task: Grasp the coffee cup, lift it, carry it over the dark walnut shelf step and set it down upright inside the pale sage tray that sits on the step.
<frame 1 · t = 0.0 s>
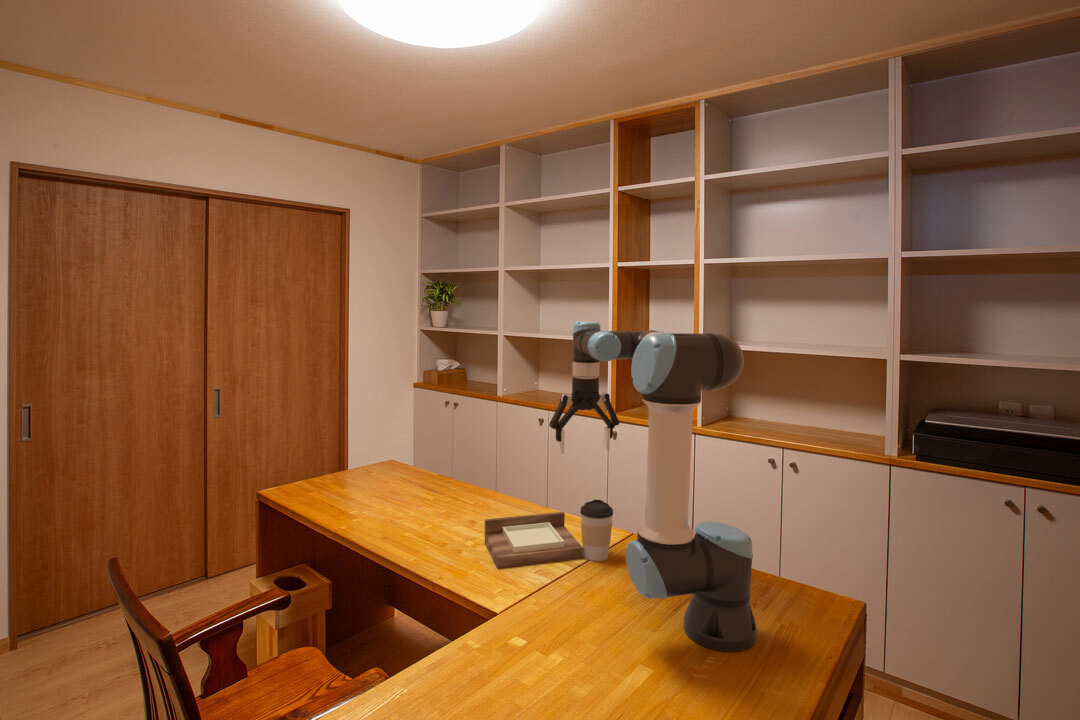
hand: (584, 451, 169), 28 cm above the table, fingers open, 13 cm apart
coffee cup: (595, 556, 166), on the table
shelf: (532, 550, 169), on the table
tray: (532, 540, 169), resting on shelf
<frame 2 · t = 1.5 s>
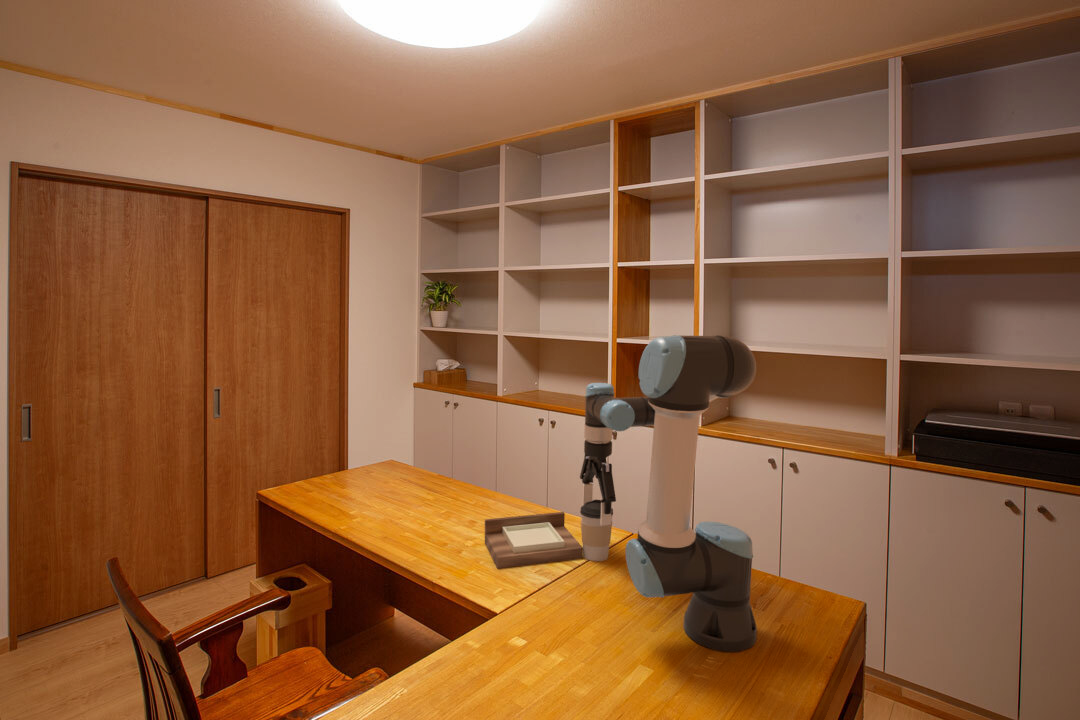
hand: (596, 515, 165), 12 cm above the table, fingers open, 13 cm apart
nothing on the table moved.
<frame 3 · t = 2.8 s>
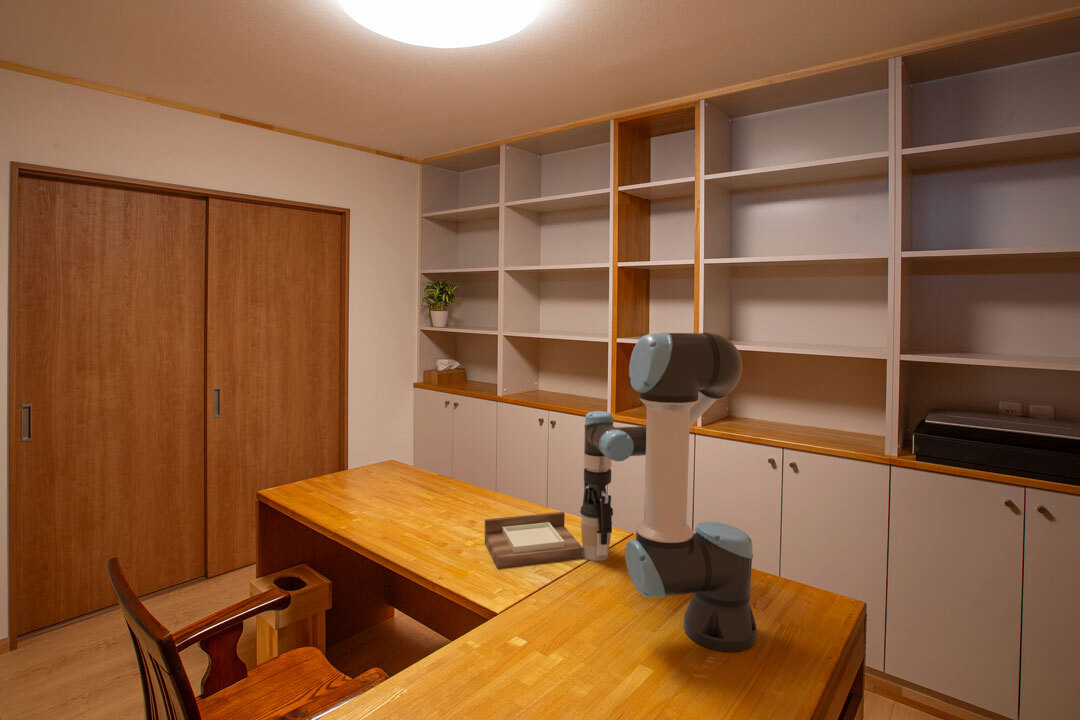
hand: (595, 547, 166), 2 cm above the table, fingers closed on coffee cup, 8 cm apart
coffee cup: (595, 556, 166), on the table, touching gripper
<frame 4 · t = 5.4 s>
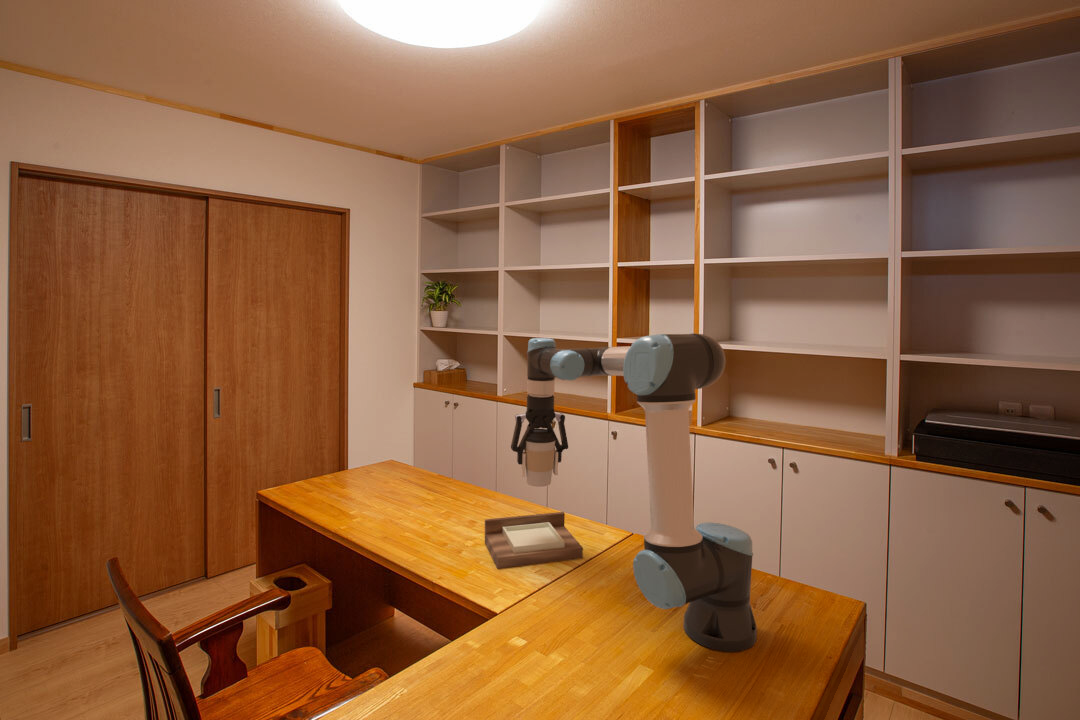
hand: (539, 474, 167), 22 cm above the table, fingers closed on coffee cup, 8 cm apart
coffee cup: (538, 483, 167), point 19 cm above the table, touching gripper
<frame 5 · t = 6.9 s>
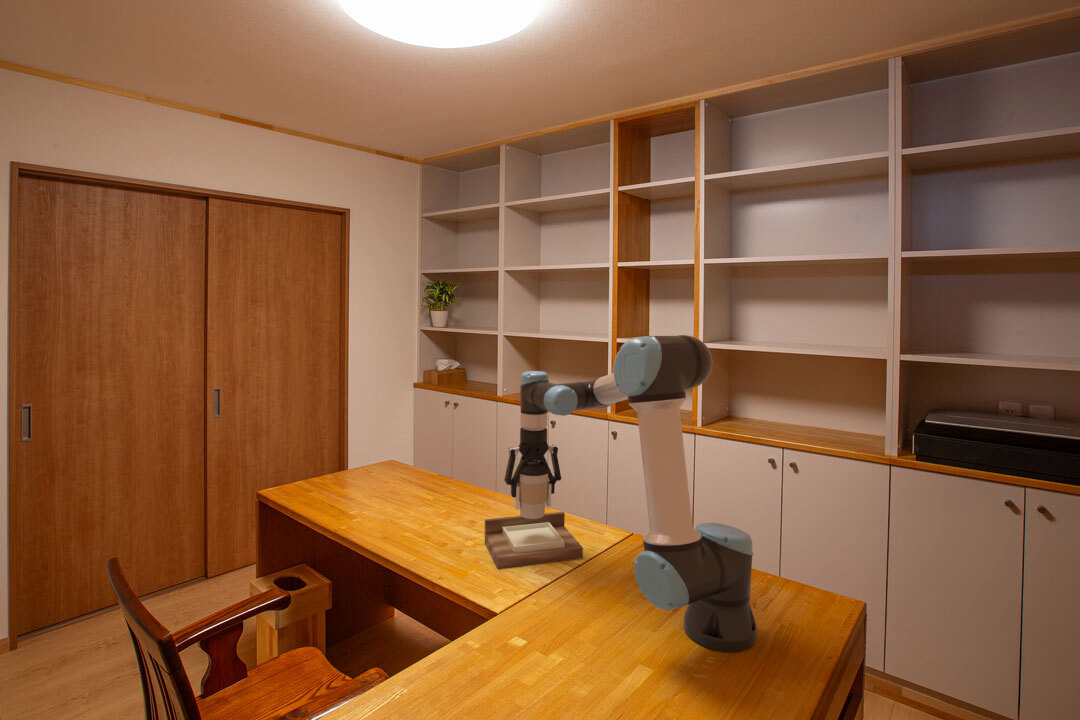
hand: (532, 506, 168), 13 cm above the table, fingers closed on coffee cup, 8 cm apart
coffee cup: (532, 514, 168), point 10 cm above the table, touching gripper
when the fingers open (7 cm above the table, at t = 8.2 s): coffee cup drops 1 cm, resting on tray.
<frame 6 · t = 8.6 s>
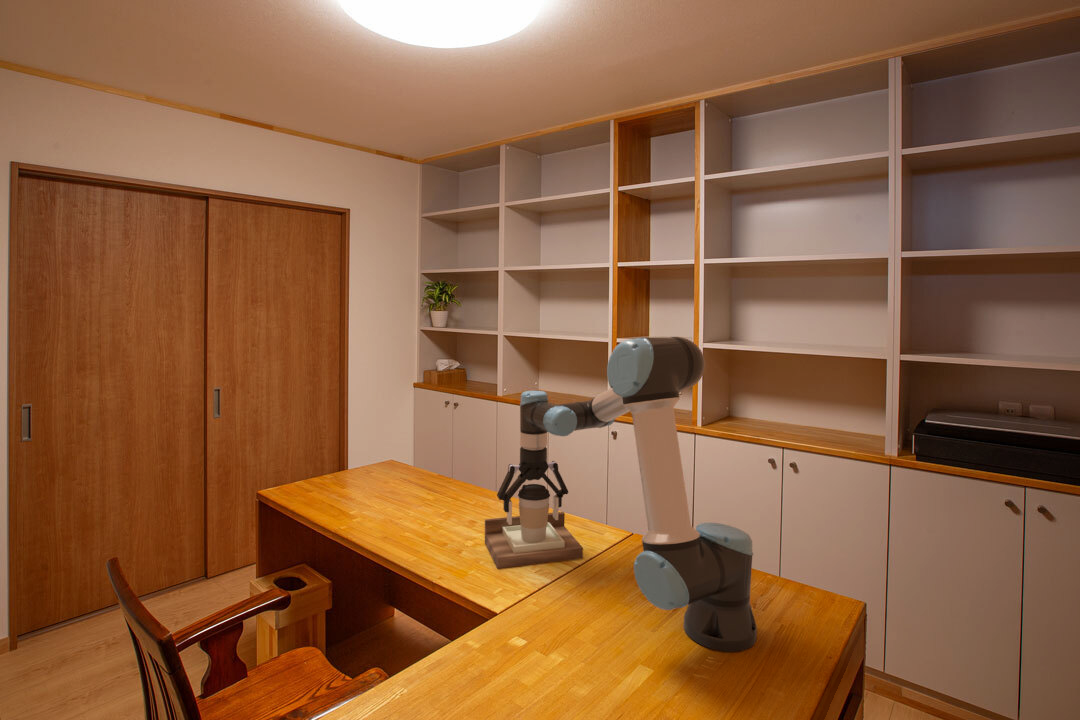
hand: (532, 520, 168), 9 cm above the table, fingers open, 13 cm apart
coffee cup: (533, 538, 169), point 3 cm above the table, touching tray
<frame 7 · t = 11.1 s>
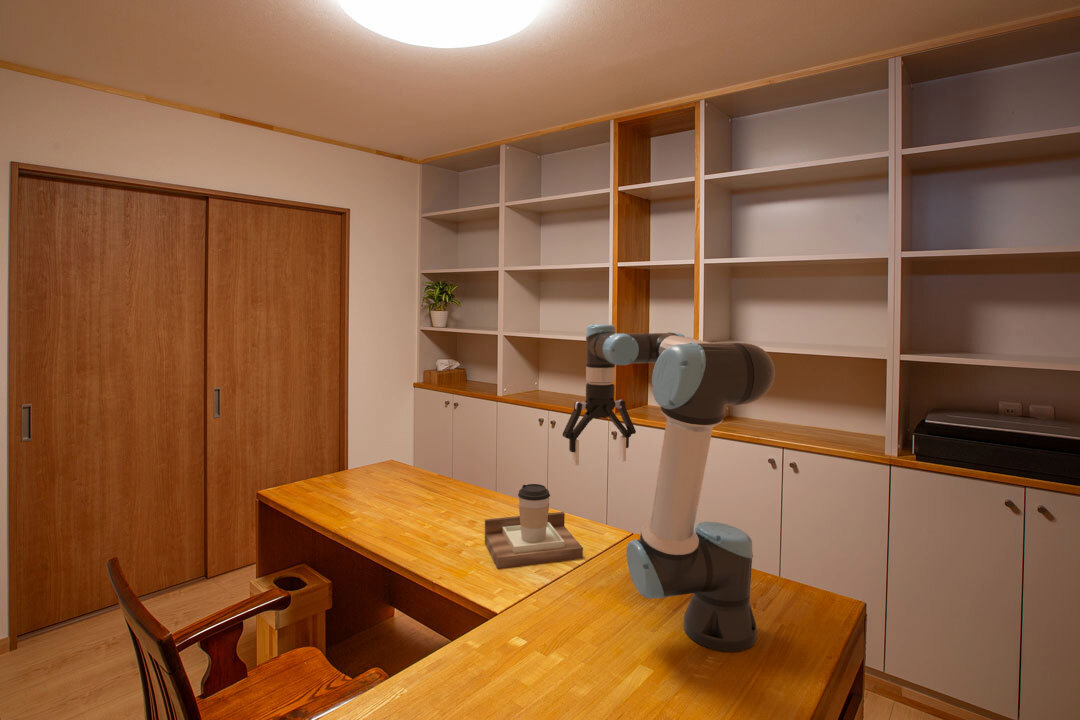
hand: (599, 462, 159), 28 cm above the table, fingers open, 13 cm apart
nothing on the table moved.
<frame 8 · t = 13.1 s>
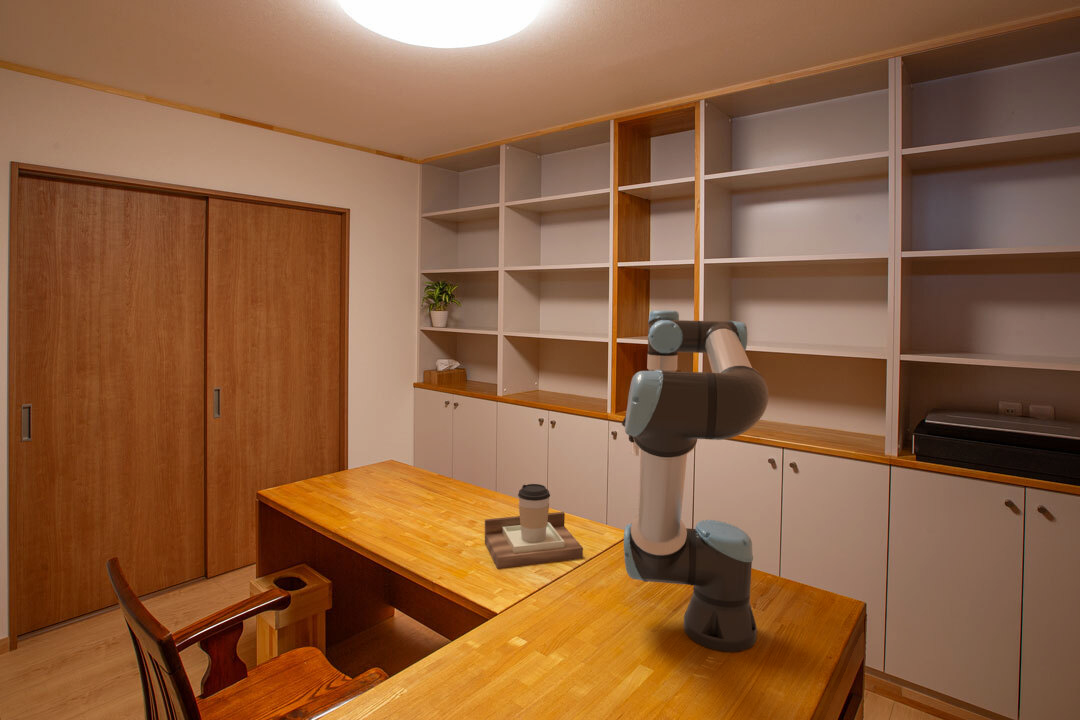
hand: (659, 452, 154), 32 cm above the table, fingers open, 13 cm apart
nothing on the table moved.
at the end: coffee cup inside the target area on the tray (0.3 cm from its centre), point 0.4 cm above the tray's base; coffee cup tilted 0°; coffee cup touching tray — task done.
